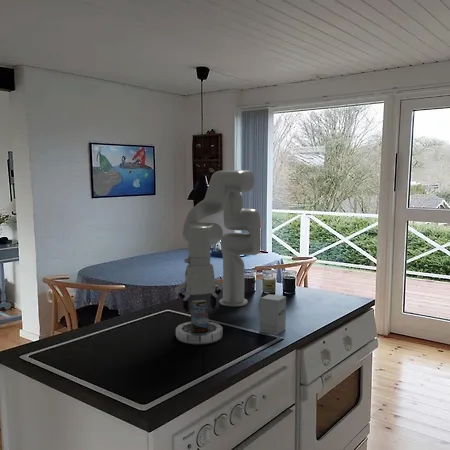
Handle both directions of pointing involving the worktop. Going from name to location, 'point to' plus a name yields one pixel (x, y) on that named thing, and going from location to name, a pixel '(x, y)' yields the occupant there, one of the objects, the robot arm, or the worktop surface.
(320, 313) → the worktop surface
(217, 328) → the grey segmented ring
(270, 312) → the supplement box
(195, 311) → the beverage can
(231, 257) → the robot arm
